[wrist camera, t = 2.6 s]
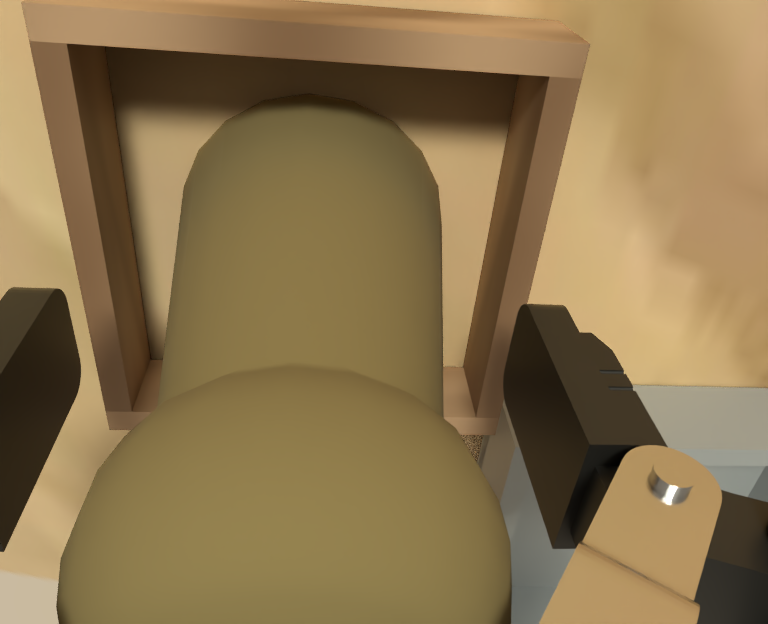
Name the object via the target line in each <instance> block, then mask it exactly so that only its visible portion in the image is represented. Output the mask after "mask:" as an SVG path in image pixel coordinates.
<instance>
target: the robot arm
mask: <svg viewBox="0 0 768 624" xmlns="http://www.w3.org/2000/svg"><path fill="white" fill-rule="evenodd" d="M80 377H81V364H80V358H79V353H78V349H77V344H76V339H75V335H74V330H73V326H72V321H71V317H70V312H69V308H68V303H67V299H66V296H65V294H64V292H63V291H62V290H61V289H52V288H19V287H13V288H11V289H9V290H8V291H7V292H6V294H5V295H4V296H3V298H2V299H1V301H0V552H4V551H5V548H6V546H7V544H8V542H9V540H10V538H11V536H12V533H13V531H14V529H15V527H16V525H17V523H18V520H19V518H20V516H21V514H22V512H23V510H24V508H25V505H26V503H27V501H28V499H29V497H30V495H31V493H32V490H33V488H34V486H35V484H36V482H37V480H38V478H39V475H40V473H41V471H42V469H43V467H44V465H45V462H46V460H47V458H48V456H49V454H50V452H51V450H52V447H53V445H54V443H55V441H56V439H57V437H58V435H59V432H60V430H61V428H62V426H63V424H64V422H65V419H66V417H67V415H68V413H69V411H70V409H71V407H72V404H73V402H74V400H75V398H76V396H77V393H78V390H79V385H80ZM503 393H504V400H505V404H506V407H507V410H508V413H509V416H510V419H511V423H512V426H513V429H514V432H515V435H516V438H517V441H518V444H519V447H520V450H521V453H522V456H523V460H524V463H525V466H526V469H527V472H528V475H529V478H530V481H531V484H532V487H533V490H534V493H535V496H536V500H537V503H538V506H539V509H540V512H541V515H542V518H543V521H544V524H545V527H546V530H547V533H548V536H549V540H550V543H551V546H552V549H575V551H574V553H573V555H572V557H571V559H570V561H569V563H568V565H567V567H566V569H565V571H564V573H563V576H562V578H561V580H560V582H559V584H558V586H557V588H556V590H555V592H554V594H553V596H552V598H551V600H550V602H549V604H548V606H547V608H546V610H545V612H544V614H543V616H542V618H541V620H540V622H539V624H768V502H765V501H761V500H757V499H753V498H749V497H745V496H742V495H738V494H734V493H730V492H727V491H724V490H721V489H720V486H719V484H718V482H717V481H716V479H715V478H714V476H713V475H712V474H711V473H710V472H709V471H708V470H707V469H706V468H705V467H704V466H703V465H702V464H701V463H699V462H698V461H697V460H695V459H693V458H692V457H690V456H688V455H686V454H684V453H682V452H680V451H677V450H675V449H672V448H668V446H667V445H666V443H665V441H664V439H663V438H662V436H661V434H660V432H659V431H658V429H657V427H656V425H655V424H654V422H653V420H652V419H651V417H650V415H649V413H648V412H647V410H646V408H645V406H644V405H643V403H642V401H641V399H640V398H639V396H638V394H637V392H636V391H633V386H632V384H631V382H630V380H629V379H628V377H627V375H626V374H624V370H623V368H622V366H621V365H620V363H619V361H618V359H617V358H616V356H615V354H614V353H613V351H612V350H611V349H610V348H609V347H608V346H606V345H605V344H604V343H603V342H602V341H600V340H599V339H598V338H597V337H596V336H595V335H593V334H592V333H579V331H578V329H577V327H576V325H575V323H574V321H573V319H572V317H571V316H570V314H569V312H568V310H567V308H566V307H565V306H563V305H541V304H523V305H522V306H521V307H520V309H519V311H518V314H517V318H516V322H515V326H514V330H513V335H512V339H511V343H510V347H509V352H508V356H507V360H506V365H505V369H504V375H503Z"/></svg>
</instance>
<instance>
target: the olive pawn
mask: <svg viewBox="0 0 768 624" xmlns="http://www.w3.org/2000/svg"><path fill="white" fill-rule="evenodd" d="M511 605H512V572H511V546H510V538H509V535H508V531H507V528H506V524H505V520H504V517H503V513H502V510H501V506H500V502H499V499H498V498H497V496H496V494H495V493H494V491H493V489H492V488H491V486H490V484H489V482H488V481H487V479H486V477H485V476H484V474H483V472H482V471H481V469H480V467H479V465H478V464H477V462H476V460H475V459H474V457H473V455H472V454H471V452H470V450H469V449H468V447H467V445H466V444H465V442H464V441H463V439H462V437H461V436H460V434H459V432H458V431H457V429H456V428H455V427H454V426H453V425H452V424H450V423H449V422H448V421H446V420H445V419H444V409H443V317H442V224H441V212H440V201H439V191H438V185H437V183H436V181H435V179H434V176H433V174H432V172H431V170H430V168H429V166H428V164H427V162H426V159H425V157H424V155H423V153H422V151H421V150H420V149H419V148H418V147H417V146H416V145H415V144H414V143H413V142H412V141H411V140H410V139H409V138H408V137H407V136H406V135H405V134H404V132H403V131H402V130H401V129H400V128H399V127H398V126H397V125H396V124H395V123H394V122H393V121H391V120H389V119H387V118H385V117H383V116H381V115H379V114H377V113H376V112H374V111H372V110H370V109H368V108H366V107H364V106H362V105H360V104H358V103H356V102H354V101H350V100H343V99H337V98H331V97H325V96H319V95H313V94H305V95H298V96H292V97H285V98H279V99H272V100H266V101H263V102H261V103H259V104H257V105H255V106H253V107H251V108H249V109H248V110H246V111H244V112H242V113H240V114H238V115H236V116H234V117H232V118H230V119H228V120H226V121H225V122H224V124H223V125H222V126H221V127H220V128H219V129H218V130H217V131H216V132H215V133H214V134H213V135H212V137H211V138H210V139H209V140H208V141H207V142H206V143H205V144H204V145H203V146H202V147H201V149H200V150H199V151H198V153H197V156H196V158H195V161H194V163H193V166H192V168H191V171H190V173H189V175H188V178H187V180H186V183H185V185H184V190H183V199H182V207H181V215H180V223H179V231H178V240H177V248H176V256H175V264H174V273H173V281H172V289H171V297H170V305H169V314H168V322H167V330H166V338H165V346H164V355H163V363H162V371H161V379H160V388H159V396H158V404H157V408H156V409H155V410H154V411H152V412H151V413H150V414H149V415H148V416H147V417H146V418H145V419H144V420H142V421H141V422H140V423H139V424H138V425H137V426H136V427H135V428H134V429H132V430H131V431H130V432H129V433H128V434H127V435H126V436H125V437H124V438H123V439H122V441H121V442H120V443H119V444H118V446H117V447H116V448H115V449H114V451H113V452H112V453H111V454H110V456H109V457H108V458H107V459H106V461H105V462H104V463H103V464H102V466H101V467H100V468H99V469H98V471H97V473H96V476H95V478H94V480H93V483H92V485H91V487H90V490H89V492H88V494H87V497H86V499H85V501H84V503H83V506H82V508H81V510H80V513H79V515H78V518H77V520H76V522H75V525H74V527H73V530H72V532H71V535H70V537H69V540H68V542H67V544H66V547H65V549H64V552H63V554H62V557H61V562H60V573H59V584H58V595H57V606H56V607H57V614H58V620H59V624H511Z"/></svg>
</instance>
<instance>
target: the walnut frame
mask: <svg viewBox="0 0 768 624" xmlns="http://www.w3.org/2000/svg"><path fill="white" fill-rule="evenodd" d="M21 3H22V8H23V13H24V18H25V23H26V28H27V32H28V37H29V42H30V47H31V52H32V57H33V61H34V66H35V71H36V76H37V81H38V86H39V90H40V95H41V100H42V105H43V110H44V115H45V120H46V124H47V129H48V134H49V139H50V144H51V149H52V153H53V158H54V163H55V168H56V173H57V178H58V182H59V187H60V192H61V197H62V202H63V207H64V212H65V216H66V221H67V226H68V231H69V236H70V241H71V245H72V250H73V255H74V260H75V265H76V270H77V275H78V279H79V284H80V289H81V294H82V299H83V304H84V308H85V313H86V318H87V323H88V328H89V333H90V337H91V342H92V347H93V352H94V357H95V362H96V367H97V371H98V376H99V381H100V386H101V391H102V396H103V400H104V405H105V410H106V415H107V420H108V425H109V429H110V430H132V429H134V428H135V427H136V426H137V425H138V424H139V423H140V422H141V421H142V420H144V419H145V418H146V417H147V416H148V415H149V414H150V413H151V412H152V411H154V410H155V409H156V408H157V404H158V396H159V388H160V379H161V371H162V363H163V360H151V359H150V352H149V345H148V339H147V332H146V325H145V318H144V311H143V305H142V298H141V291H140V284H139V277H138V270H137V264H136V257H135V250H134V243H133V236H132V230H131V223H130V216H129V209H128V202H127V196H126V189H125V182H124V175H123V168H122V162H121V155H120V148H119V141H118V134H117V127H116V121H115V114H114V107H113V100H112V93H111V87H110V80H109V73H108V66H107V59H106V53H105V46H111V47H125V48H140V49H154V50H169V51H184V52H198V53H213V54H228V55H242V56H257V57H271V58H286V59H301V60H315V61H330V62H344V63H359V64H374V65H388V66H403V67H417V68H432V69H447V70H461V71H476V72H490V73H505V74H519V78H518V83H517V88H516V93H515V99H514V104H513V109H512V114H511V120H510V125H509V130H508V135H507V141H506V146H505V151H504V156H503V162H502V167H501V172H500V177H499V183H498V188H497V193H496V198H495V204H494V209H493V214H492V219H491V225H490V230H489V235H488V240H487V246H486V251H485V256H484V261H483V267H482V272H481V277H480V282H479V288H478V293H477V298H476V303H475V309H474V314H473V319H472V324H471V330H470V335H469V340H468V345H467V351H466V356H465V361H464V366H463V367H443V409H444V419H445V420H446V421H448V422H449V423H450V424H452V425H453V426H454V427H455V428H456V429H457V431H458V432H459V434H460V435H495V434H496V430H497V426H498V422H499V417H500V413H501V409H502V405H503V401H504V393H503V375H504V369H505V365H506V360H507V356H508V352H509V347H510V343H511V339H512V335H513V330H514V326H515V322H516V318H517V314H518V311H519V309H520V307H521V306H522V305H523V304H527V302H528V298H529V294H530V290H531V286H532V282H533V277H534V273H535V269H536V265H537V261H538V257H539V253H540V249H541V244H542V240H543V236H544V232H545V228H546V224H547V220H548V216H549V211H550V207H551V203H552V199H553V195H554V191H555V187H556V183H557V179H558V174H559V170H560V166H561V162H562V158H563V154H564V150H565V146H566V141H567V137H568V133H569V129H570V125H571V121H572V117H573V113H574V109H575V104H576V100H577V96H578V92H579V88H580V84H581V80H582V76H583V71H584V67H585V63H586V59H587V55H588V51H589V47H590V44H589V43H588V42H587V41H585V40H584V39H583V38H581V37H580V36H579V35H577V34H576V33H574V32H573V31H572V30H570V29H569V28H568V27H566V26H565V25H564V24H562V23H561V22H560V21H555V20H542V19H529V18H516V17H503V16H490V15H477V14H464V13H451V12H438V11H425V10H412V9H399V8H386V7H373V6H360V5H347V4H334V3H321V2H308V1H295V0H25V1H23V2H21Z"/></svg>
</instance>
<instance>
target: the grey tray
mask: <svg viewBox="0 0 768 624" xmlns="http://www.w3.org/2000/svg"><path fill="white" fill-rule="evenodd" d="M632 386H633V391H636V392H637V394H638V396H639V398H640V399H641V401H642V403H643V405H644V406H645V408H646V410H647V412H648V413H649V415H650V417H651V419H652V420H653V422H654V424H655V425H656V427H657V429H658V431H659V432H660V434H661V436H662V438H663V439H664V441H665V443H666V445H667V446H668V448H672V449H675V450H677V451H680V452H682V453H684V454H686V455H688V456H690V457H692V458H693V459H695V460H697V461H698V462H699V463H701V464H702V465H703V466H704V467H705V468H706V469H707V470H708V471H709V472H710V473H711V474H712V475H713V476H714V478H715V479H716V481H717V482H718V484H719V486H720V489H721V490H724V491H727V492H730V493H734V494H738V495H742V496H745V497H749V498H753V499H757V500H761V501H765V502H768V388H741V387H697V386H652V385H632ZM477 464H478V465H479V467H480V469H481V471H482V472H483V474H484V476H485V477H486V479H487V481H488V482H489V484H490V486H491V488H492V489H493V491H494V493H495V494H496V496H497V498H498V499H499V502H500V506H501V510H502V513H503V517H504V520H505V524H506V528H507V531H508V535H509V538H510V546H511V572H512V605H511V624H539V622H540V620H541V618H542V616H543V614H544V612H545V610H546V608H547V606H548V604H549V602H550V600H551V598H552V596H553V594H554V592H555V590H556V588H557V586H558V584H559V582H560V580H561V578H562V576H563V573H564V571H565V569H566V567H567V565H568V563H569V561H570V559H571V557H572V555H573V553H574V551H575V549H552V546H551V543H550V540H549V536H548V533H547V530H546V527H545V524H544V521H543V518H542V515H541V512H540V509H539V506H538V503H537V500H536V496H535V493H534V490H533V487H532V484H531V481H530V478H529V475H528V472H527V469H526V466H525V463H524V460H523V456H522V453H521V450H520V447H519V444H518V441H517V438H516V435H515V432H514V429H513V426H512V423H511V419H510V416H509V413H508V410H507V407H506V404H505V400H504V401H503V405H502V409H501V413H500V417H499V422H498V426H497V430H496V434H495V435H483V439H482V443H481V448H480V452H479V456H478V461H477Z"/></svg>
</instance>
